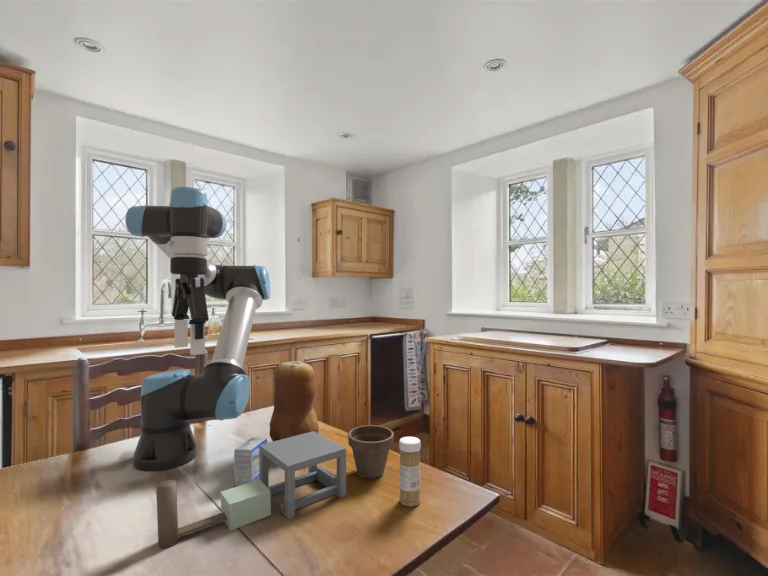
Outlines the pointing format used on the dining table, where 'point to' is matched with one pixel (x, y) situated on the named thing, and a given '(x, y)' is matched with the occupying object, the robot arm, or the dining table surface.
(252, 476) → the medicine box
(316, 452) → the grey step stool
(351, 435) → the flower pot
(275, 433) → the butternut squash
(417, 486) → the sprinkles bottle
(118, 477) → the dining table surface
